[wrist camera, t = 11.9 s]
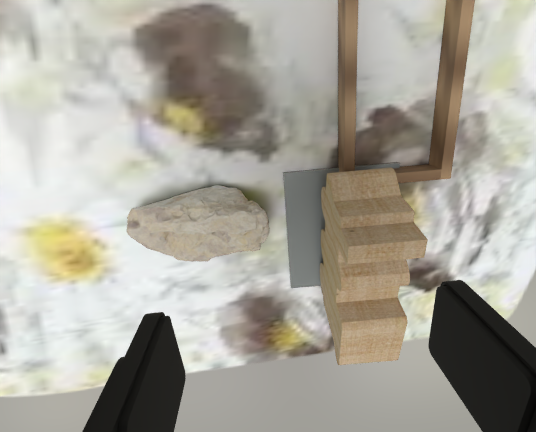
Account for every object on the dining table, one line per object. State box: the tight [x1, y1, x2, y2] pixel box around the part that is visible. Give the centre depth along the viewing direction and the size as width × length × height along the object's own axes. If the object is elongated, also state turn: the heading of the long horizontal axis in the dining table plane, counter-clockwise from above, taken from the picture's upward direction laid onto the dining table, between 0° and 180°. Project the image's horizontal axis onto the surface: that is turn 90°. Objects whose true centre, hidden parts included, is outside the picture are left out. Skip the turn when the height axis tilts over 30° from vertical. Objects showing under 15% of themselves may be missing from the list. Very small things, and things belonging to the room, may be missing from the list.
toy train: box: [320, 168, 427, 365], centre depth 29 cm, size 6×17×10 cm, turn 5°
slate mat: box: [283, 162, 400, 288], centre depth 34 cm, size 14×12×1 cm
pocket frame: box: [338, 0, 475, 183], centre depth 28 cm, size 21×10×2 cm, turn 5°
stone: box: [127, 185, 269, 261], centre depth 30 cm, size 8×12×10 cm, turn 92°
